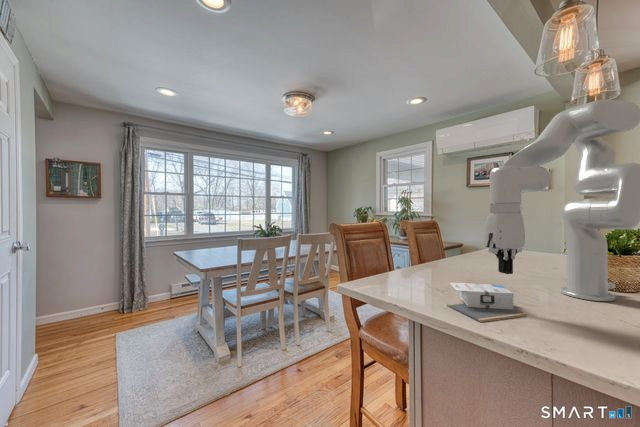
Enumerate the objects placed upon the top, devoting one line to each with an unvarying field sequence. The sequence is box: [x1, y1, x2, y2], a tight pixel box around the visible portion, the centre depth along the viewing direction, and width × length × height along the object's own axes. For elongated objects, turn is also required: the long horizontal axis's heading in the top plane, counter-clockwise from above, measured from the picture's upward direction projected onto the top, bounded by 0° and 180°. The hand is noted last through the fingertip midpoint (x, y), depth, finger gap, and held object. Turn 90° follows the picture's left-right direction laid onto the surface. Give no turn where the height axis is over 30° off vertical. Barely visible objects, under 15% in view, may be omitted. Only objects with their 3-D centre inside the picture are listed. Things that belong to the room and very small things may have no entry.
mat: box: [446, 302, 527, 323], centre depth 76 cm, size 15×12×1 cm
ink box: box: [449, 282, 514, 310], centre depth 80 cm, size 9×5×15 cm
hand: (505, 272), depth 77 cm, fingers closed
